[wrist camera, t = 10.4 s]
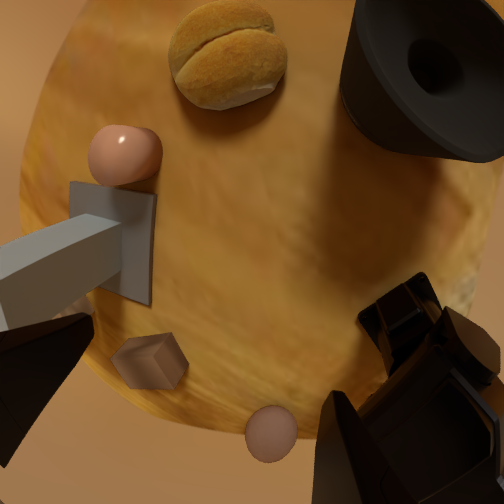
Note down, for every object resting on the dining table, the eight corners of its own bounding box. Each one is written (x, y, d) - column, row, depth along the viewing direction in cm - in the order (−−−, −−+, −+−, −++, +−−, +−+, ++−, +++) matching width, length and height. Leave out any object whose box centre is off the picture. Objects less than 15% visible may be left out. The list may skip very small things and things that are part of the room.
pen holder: (345, 24, 14) (364, -58, 5) (456, 70, 13) (530, 34, 4) (320, 134, 17) (334, 105, 8) (438, 178, 16) (525, 199, 7)
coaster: (157, 194, 21) (153, 195, 20) (151, 302, 24) (148, 305, 24) (74, 180, 22) (69, 181, 22) (76, 273, 26) (72, 275, 25)
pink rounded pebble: (173, 154, 20) (145, 155, 16) (138, 191, 21) (108, 199, 18) (142, 117, 19) (112, 112, 15) (111, 154, 21) (80, 157, 17)
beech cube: (95, 311, 27) (70, 331, 23) (76, 318, 28) (53, 337, 24) (75, 275, 26) (48, 292, 22) (58, 286, 27) (33, 302, 23)
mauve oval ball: (266, 426, 27) (255, 473, 21) (243, 400, 26) (227, 450, 20) (307, 417, 26) (302, 468, 19) (287, 389, 25) (278, 444, 18)
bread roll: (260, -1, 14) (250, -28, 11) (301, 88, 17) (299, 70, 13) (166, 37, 17) (141, 20, 13) (194, 125, 19) (169, 119, 15)
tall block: (121, 222, 22) (-5, 282, 10) (121, 270, 23) (14, 346, 11) (85, 213, 22) (-31, 260, 10) (86, 257, 24) (-16, 318, 12)
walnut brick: (171, 331, 25) (153, 356, 22) (189, 363, 26) (174, 389, 22) (129, 337, 27) (109, 358, 23) (146, 366, 28) (130, 388, 24)
